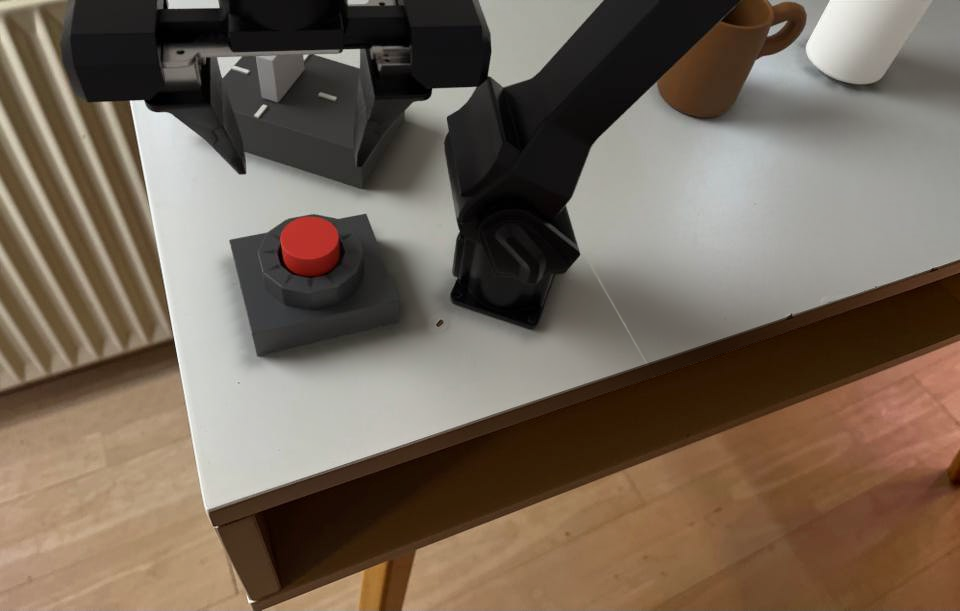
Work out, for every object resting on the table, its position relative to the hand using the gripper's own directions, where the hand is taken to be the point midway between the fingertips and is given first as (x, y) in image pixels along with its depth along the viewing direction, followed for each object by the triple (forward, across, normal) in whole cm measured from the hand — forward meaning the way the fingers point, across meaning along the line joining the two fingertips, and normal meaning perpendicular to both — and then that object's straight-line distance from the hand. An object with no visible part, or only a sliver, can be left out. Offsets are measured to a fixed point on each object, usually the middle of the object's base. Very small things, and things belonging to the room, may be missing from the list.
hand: (301, 165), depth 42 cm
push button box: (+12, 0, 0) cm, 12 cm away
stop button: (+8, 0, 0) cm, 8 cm away
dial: (+8, +1, -18) cm, 19 cm away
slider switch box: (+12, -1, -17) cm, 21 cm away
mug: (+12, -39, -19) cm, 45 cm away
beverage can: (+12, -55, -23) cm, 60 cm away
